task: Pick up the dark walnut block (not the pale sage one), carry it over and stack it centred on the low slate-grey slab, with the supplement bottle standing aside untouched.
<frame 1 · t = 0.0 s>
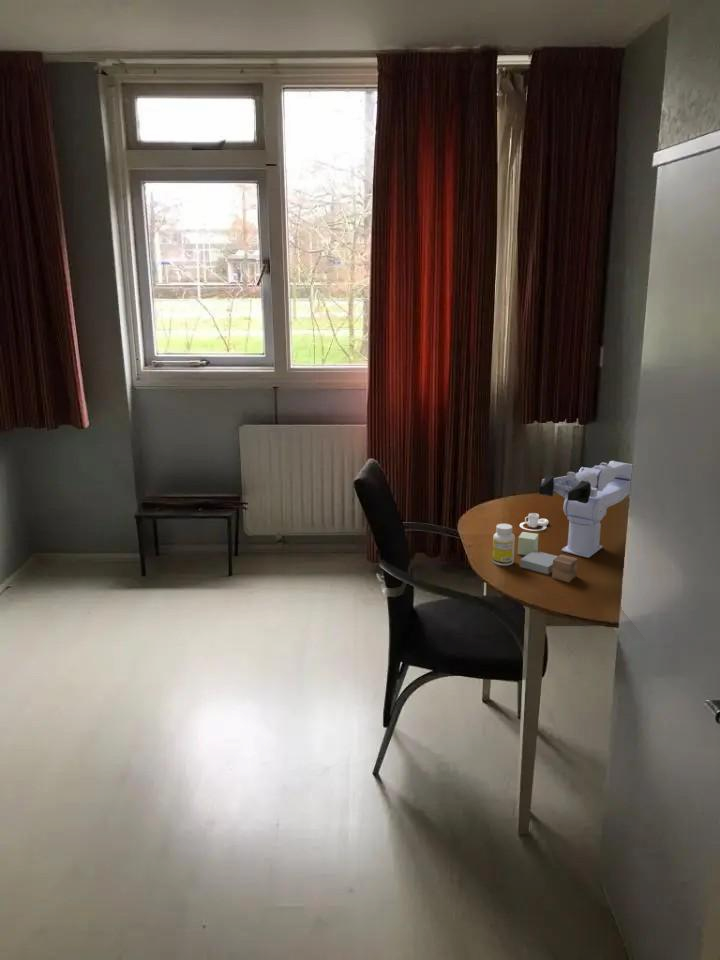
hand: (554, 493, 192), 22 cm above the table, tool horizontal, fingers open, 7 cm apart
slate slab: (540, 567, 203), on the table
sage block: (527, 552, 212), on the table
teacup and saucer: (542, 530, 229), on the table
walnut block: (564, 577, 196), on the table
supplement bottle: (503, 562, 206), on the table
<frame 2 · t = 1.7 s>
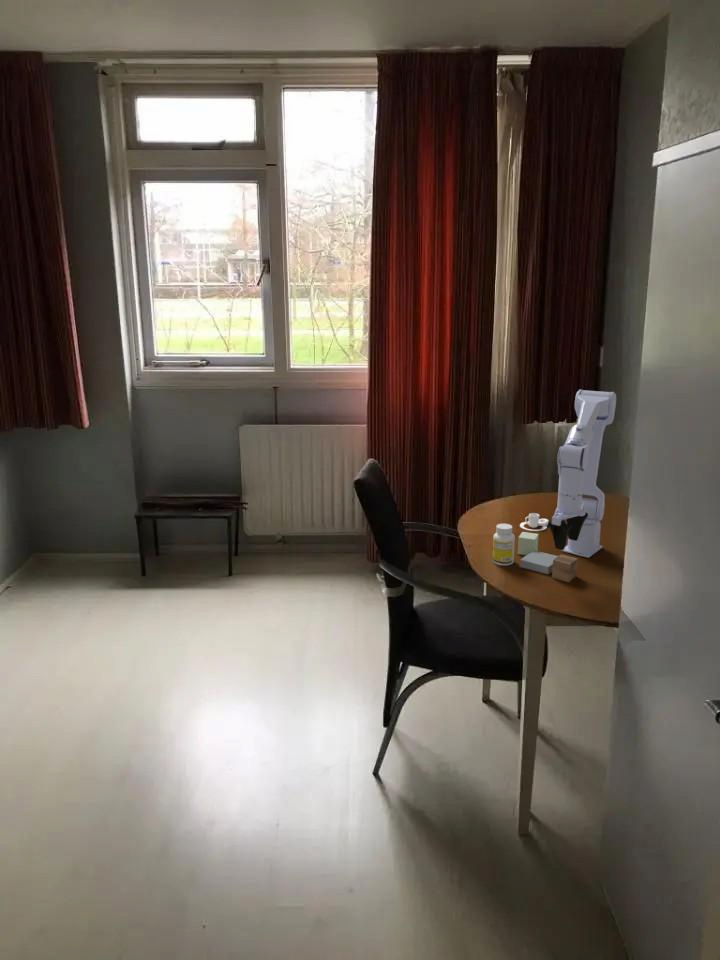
hand: (566, 544, 193), 9 cm above the table, tool pointing down, fingers open, 7 cm apart
nothing on the table moved.
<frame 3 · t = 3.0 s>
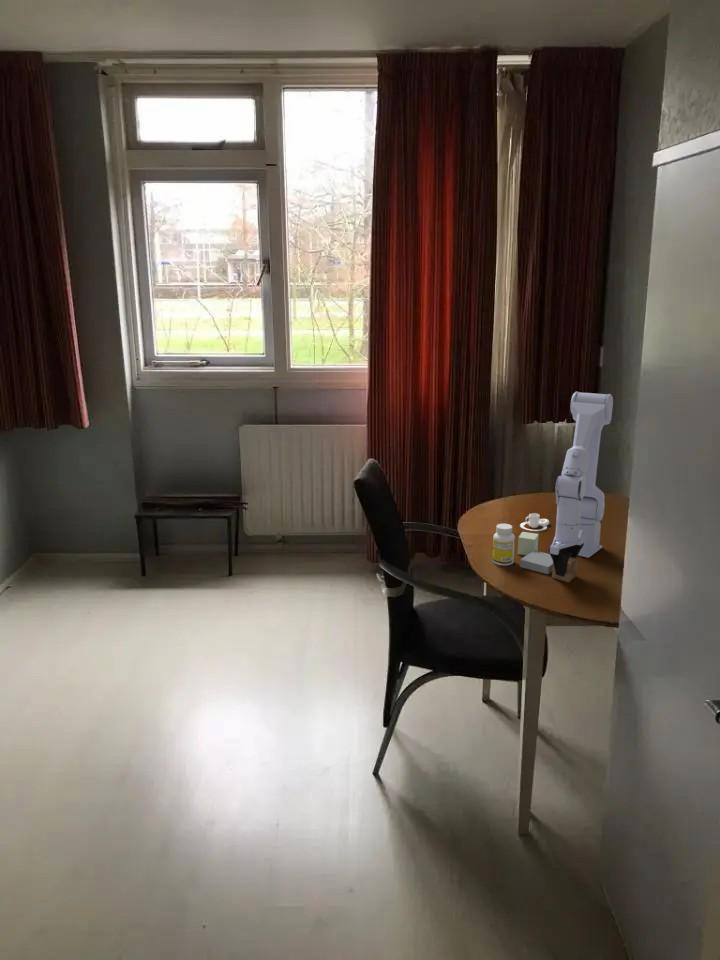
hand: (564, 571, 195), 1 cm above the table, tool pointing down, fingers closed on walnut block, 4 cm apart
walnut block: (564, 577, 196), on the table, touching gripper
everything else where it was.
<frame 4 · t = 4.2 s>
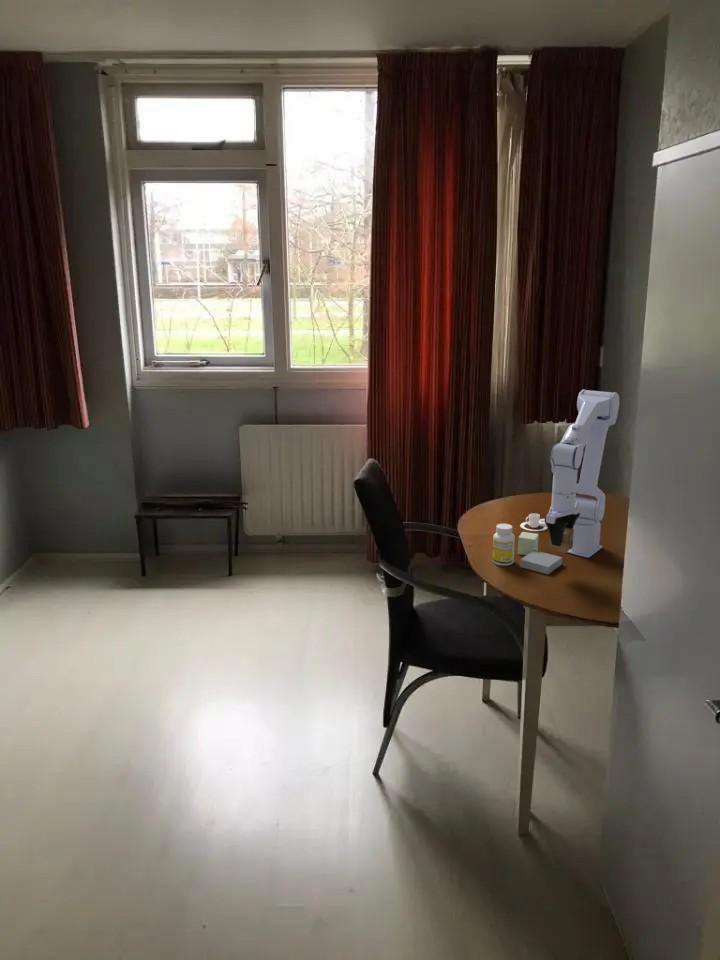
hand: (560, 542, 195), 9 cm above the table, tool pointing down, fingers closed on walnut block, 4 cm apart
walnut block: (560, 548, 195), point 7 cm above the table, touching gripper
everything else where it was.
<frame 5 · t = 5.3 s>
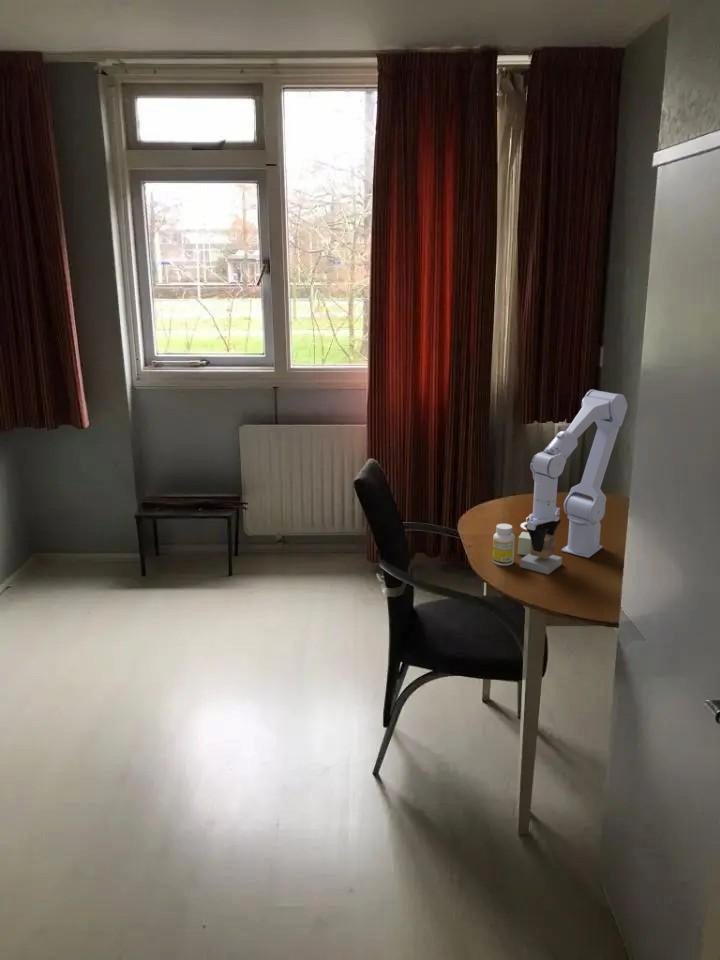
hand: (541, 547, 201), 5 cm above the table, tool pointing down, fingers closed on walnut block, 4 cm apart
walnut block: (542, 554, 202), point 3 cm above the table, touching gripper
everything else where it was.
when the fingers open (5 cm above the table, at t = 5.8 s): walnut block drops 1 cm, resting on slate slab.
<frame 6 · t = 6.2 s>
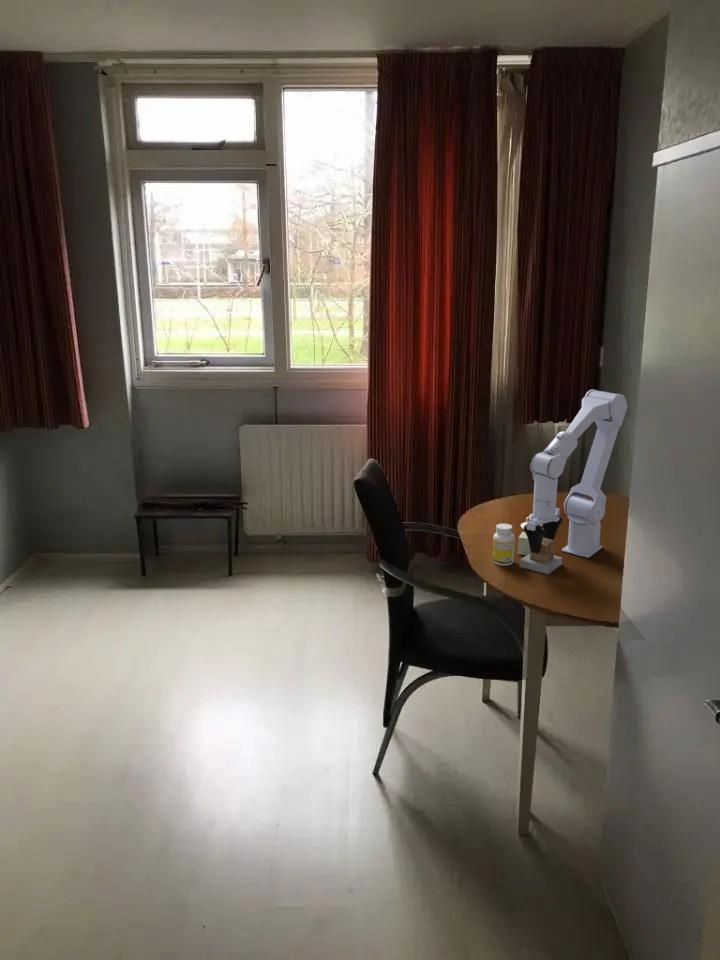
hand: (541, 548, 201), 5 cm above the table, tool pointing down, fingers open, 7 cm apart
slate slab: (540, 567, 203), on the table, touching walnut block
walnut block: (541, 558, 202), point 2 cm above the table, touching slate slab
everything else where it was.
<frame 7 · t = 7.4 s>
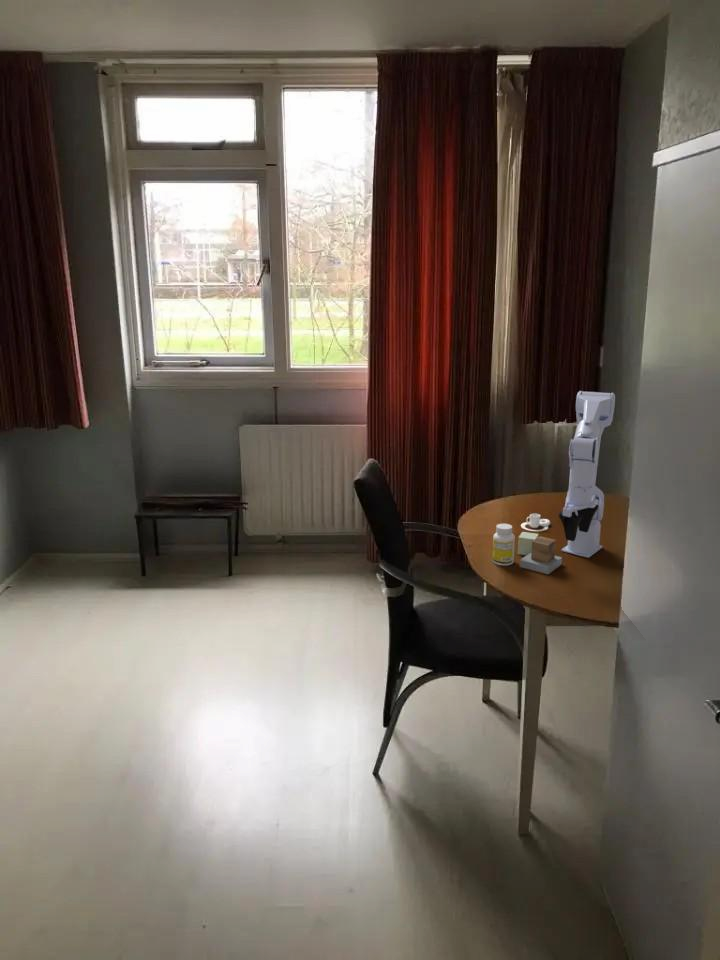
hand: (576, 535, 196), 10 cm above the table, tool pointing down, fingers open, 7 cm apart
slate slab: (540, 567, 203), on the table
walnut block: (542, 558, 202), point 2 cm above the table
everything else where it was.
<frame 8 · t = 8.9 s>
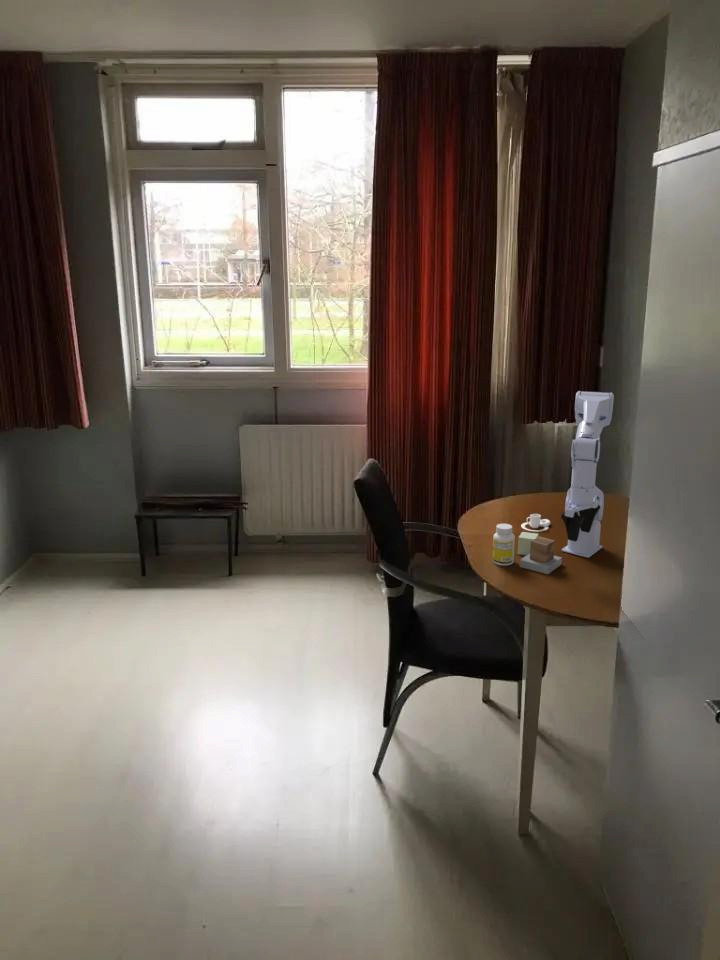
hand: (578, 535, 196), 10 cm above the table, tool pointing down, fingers open, 7 cm apart
slate slab: (540, 567, 203), on the table, touching walnut block
walnut block: (541, 558, 202), point 2 cm above the table, touching slate slab
everything else where it was.
at the end: walnut block 0.1 cm off-centre on the slate slab, point 2.5 cm above the slate slab's base; walnut block tilted 1°; the gripper is holding nothing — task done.
